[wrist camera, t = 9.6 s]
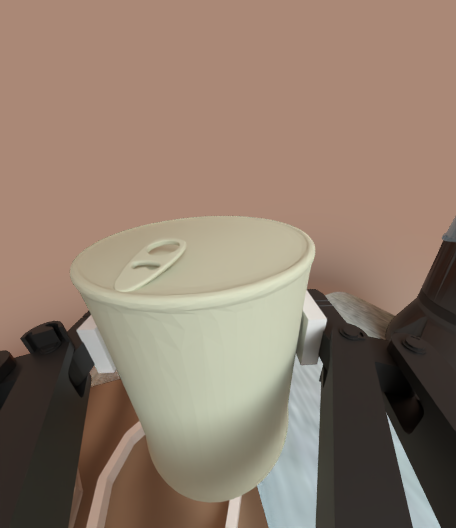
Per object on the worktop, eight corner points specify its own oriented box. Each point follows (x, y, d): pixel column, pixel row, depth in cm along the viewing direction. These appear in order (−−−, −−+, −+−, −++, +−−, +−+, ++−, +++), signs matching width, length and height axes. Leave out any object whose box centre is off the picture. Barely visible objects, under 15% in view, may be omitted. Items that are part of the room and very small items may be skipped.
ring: (214, 359, 29) (213, 352, 28) (265, 572, 13) (266, 568, 13) (125, 383, 26) (122, 376, 26) (59, 686, 11) (47, 688, 10)
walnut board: (220, 356, 31) (219, 345, 29) (295, 630, 12) (299, 627, 11) (0, 416, 24) (-12, 405, 23) (-531, 1163, 6) (-706, 1276, 5)
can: (110, 456, 11) (-19, 259, 5) (191, 334, 18) (169, 207, 13) (281, 550, 8) (350, 322, 3) (290, 359, 16) (312, 208, 10)
